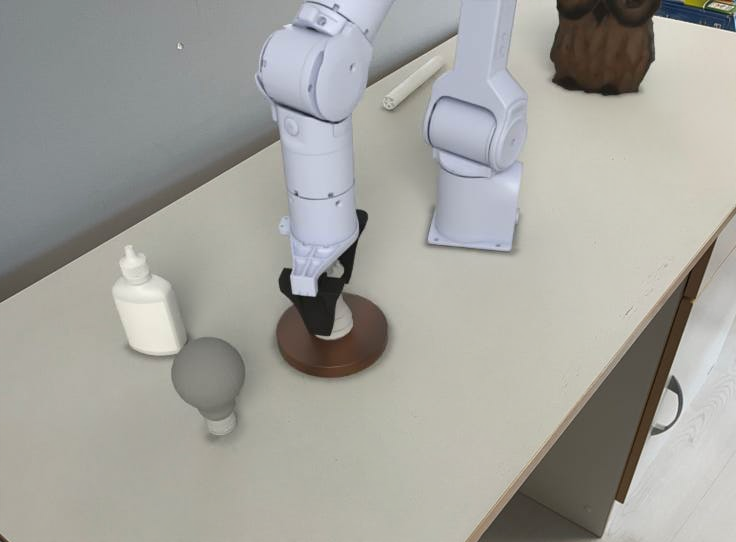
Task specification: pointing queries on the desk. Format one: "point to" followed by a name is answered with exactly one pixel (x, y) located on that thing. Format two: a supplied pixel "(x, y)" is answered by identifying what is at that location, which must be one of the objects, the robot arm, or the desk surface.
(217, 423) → the light bulb
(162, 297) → the eye dropper bottle
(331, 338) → the rook chess piece
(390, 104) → the cream white rod
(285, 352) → the walnut coaster
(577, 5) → the owl
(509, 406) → the desk surface
